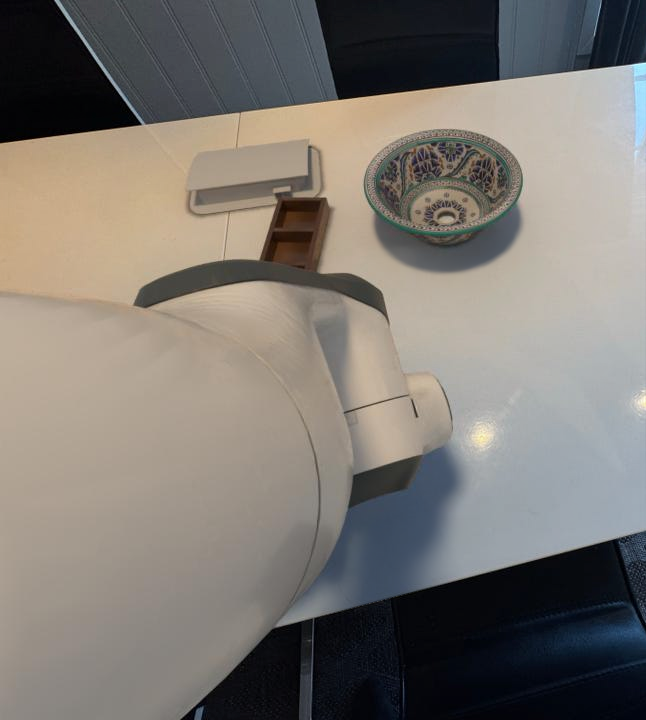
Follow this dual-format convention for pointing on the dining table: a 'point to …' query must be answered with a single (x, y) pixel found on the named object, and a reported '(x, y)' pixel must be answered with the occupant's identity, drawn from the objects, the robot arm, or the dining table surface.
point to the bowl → (443, 184)
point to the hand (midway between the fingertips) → (126, 504)
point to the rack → (297, 232)
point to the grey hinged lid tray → (252, 176)
